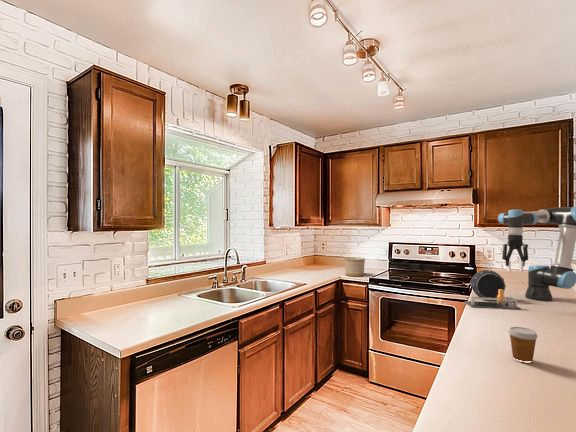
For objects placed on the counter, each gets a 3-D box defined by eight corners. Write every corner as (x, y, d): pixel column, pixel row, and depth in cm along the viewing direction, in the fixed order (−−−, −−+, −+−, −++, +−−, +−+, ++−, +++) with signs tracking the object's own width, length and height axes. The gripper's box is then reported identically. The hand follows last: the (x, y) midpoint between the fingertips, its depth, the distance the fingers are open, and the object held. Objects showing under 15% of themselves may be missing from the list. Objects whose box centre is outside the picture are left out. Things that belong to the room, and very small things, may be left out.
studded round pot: (507, 302, 222) (507, 272, 222) (474, 300, 226) (474, 271, 226) (500, 298, 233) (500, 269, 233) (469, 296, 237) (469, 268, 237)
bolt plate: (510, 304, 217) (510, 302, 217) (520, 309, 205) (520, 307, 205) (464, 302, 221) (464, 300, 221) (471, 307, 209) (471, 305, 209)
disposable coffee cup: (502, 355, 137) (502, 326, 137) (524, 355, 138) (524, 326, 138) (520, 366, 128) (520, 335, 128) (543, 365, 128) (544, 334, 128)
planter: (352, 272, 332) (352, 256, 332) (368, 275, 318) (368, 258, 318) (340, 275, 319) (340, 258, 319) (356, 278, 305) (356, 260, 305)
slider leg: (500, 304, 212) (500, 288, 212) (504, 306, 207) (504, 290, 207) (495, 303, 213) (495, 288, 213) (499, 306, 207) (499, 290, 207)
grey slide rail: (513, 306, 211) (513, 296, 211) (517, 308, 206) (517, 298, 206) (469, 304, 215) (469, 294, 215) (472, 307, 210) (472, 296, 210)
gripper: (528, 234, 210) (528, 270, 210) (495, 233, 213) (495, 270, 213) (535, 234, 202) (535, 272, 202) (501, 234, 205) (501, 272, 205)
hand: (515, 271), depth 207 cm, fingers open, 6 cm apart
